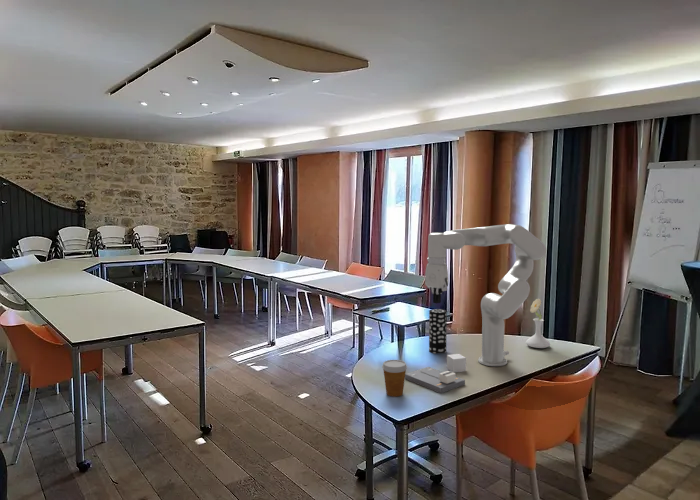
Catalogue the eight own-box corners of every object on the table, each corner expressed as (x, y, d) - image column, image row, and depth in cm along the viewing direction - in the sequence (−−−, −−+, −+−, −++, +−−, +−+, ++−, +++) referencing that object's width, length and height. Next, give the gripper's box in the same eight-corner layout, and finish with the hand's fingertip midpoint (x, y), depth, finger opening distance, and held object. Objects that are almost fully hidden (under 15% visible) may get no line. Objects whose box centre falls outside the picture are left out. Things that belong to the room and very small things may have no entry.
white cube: (465, 371, 218) (465, 357, 217) (453, 372, 216) (453, 359, 215) (458, 366, 223) (459, 353, 223) (446, 368, 222) (446, 355, 221)
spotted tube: (448, 350, 247) (449, 310, 245) (442, 354, 240) (442, 313, 238) (433, 347, 251) (433, 308, 249) (426, 352, 244) (426, 311, 242)
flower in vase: (525, 342, 258) (527, 294, 256) (549, 344, 254) (551, 295, 252) (525, 349, 246) (526, 299, 243) (550, 352, 242) (552, 301, 239)
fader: (447, 377, 203) (447, 369, 203) (455, 380, 200) (455, 372, 199) (439, 380, 200) (439, 372, 200) (446, 383, 197) (447, 375, 196)
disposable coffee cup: (380, 389, 198) (380, 359, 197) (404, 388, 199) (404, 358, 198) (384, 399, 189) (384, 368, 187) (409, 397, 190) (409, 367, 188)
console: (428, 371, 218) (428, 366, 218) (464, 384, 202) (464, 379, 202) (404, 378, 209) (404, 373, 209) (440, 393, 194) (440, 387, 193)
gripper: (418, 260, 222) (418, 301, 224) (444, 263, 210) (444, 306, 212) (430, 258, 226) (430, 299, 228) (456, 262, 215) (455, 304, 217)
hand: (436, 302), depth 220 cm, fingers closed
